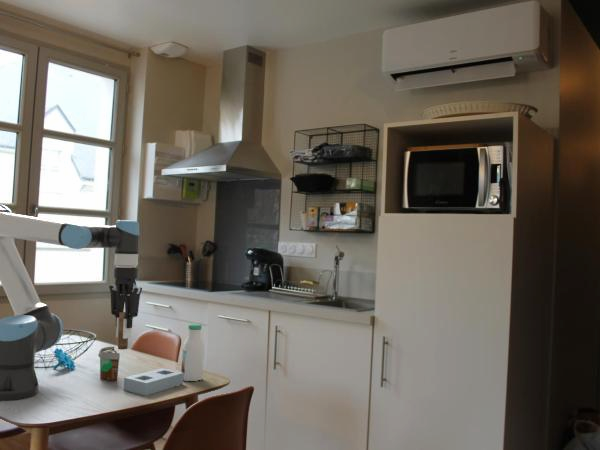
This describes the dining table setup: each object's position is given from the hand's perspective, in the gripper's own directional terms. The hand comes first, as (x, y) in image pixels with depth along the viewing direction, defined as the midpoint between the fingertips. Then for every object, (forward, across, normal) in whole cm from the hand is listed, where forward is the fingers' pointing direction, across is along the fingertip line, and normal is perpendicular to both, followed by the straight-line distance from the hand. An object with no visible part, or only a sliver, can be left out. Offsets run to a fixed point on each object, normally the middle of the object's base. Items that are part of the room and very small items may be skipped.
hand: (123, 337), depth 184 cm
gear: (+17, +35, -4) cm, 39 cm away
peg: (+4, 0, 0) cm, 4 cm away
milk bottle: (+18, -8, -26) cm, 32 cm away
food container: (+17, +15, -6) cm, 23 cm away
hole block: (+18, -5, -10) cm, 21 cm away
